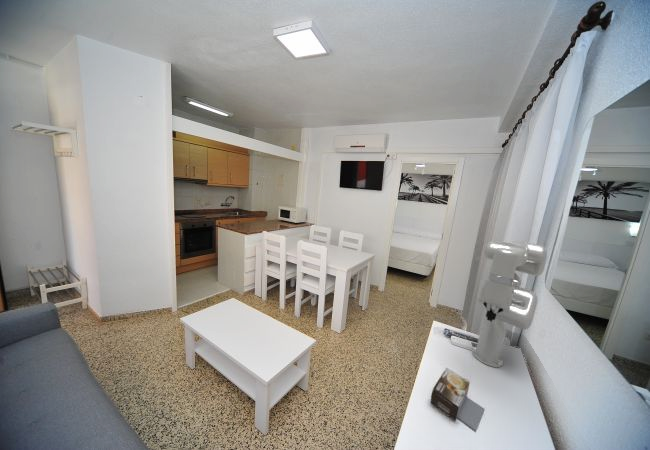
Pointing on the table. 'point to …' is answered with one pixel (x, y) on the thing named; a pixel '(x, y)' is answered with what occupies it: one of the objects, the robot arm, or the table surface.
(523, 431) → the table surface
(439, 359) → the table surface
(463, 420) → the mat
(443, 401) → the coffee box
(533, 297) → the robot arm
